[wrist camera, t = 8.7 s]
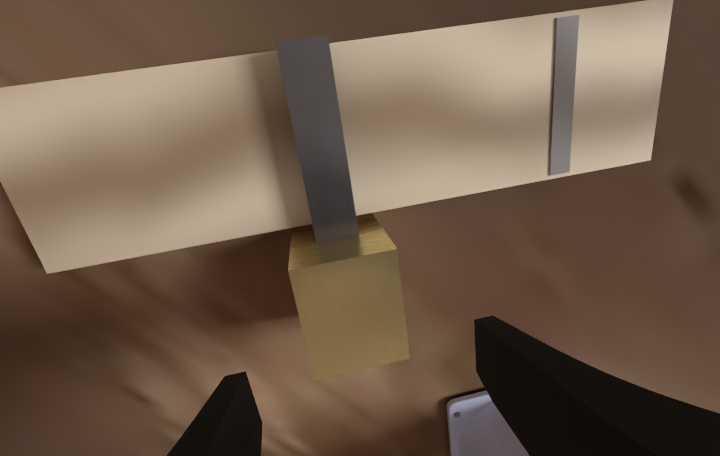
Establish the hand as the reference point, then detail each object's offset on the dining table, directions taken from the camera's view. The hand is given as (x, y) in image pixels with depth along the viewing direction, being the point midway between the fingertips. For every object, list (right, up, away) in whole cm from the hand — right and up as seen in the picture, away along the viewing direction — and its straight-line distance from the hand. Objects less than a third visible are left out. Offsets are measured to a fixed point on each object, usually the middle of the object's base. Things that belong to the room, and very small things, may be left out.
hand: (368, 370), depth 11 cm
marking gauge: (-2, +6, +6) cm, 9 cm away
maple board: (0, +9, +5) cm, 10 cm away
